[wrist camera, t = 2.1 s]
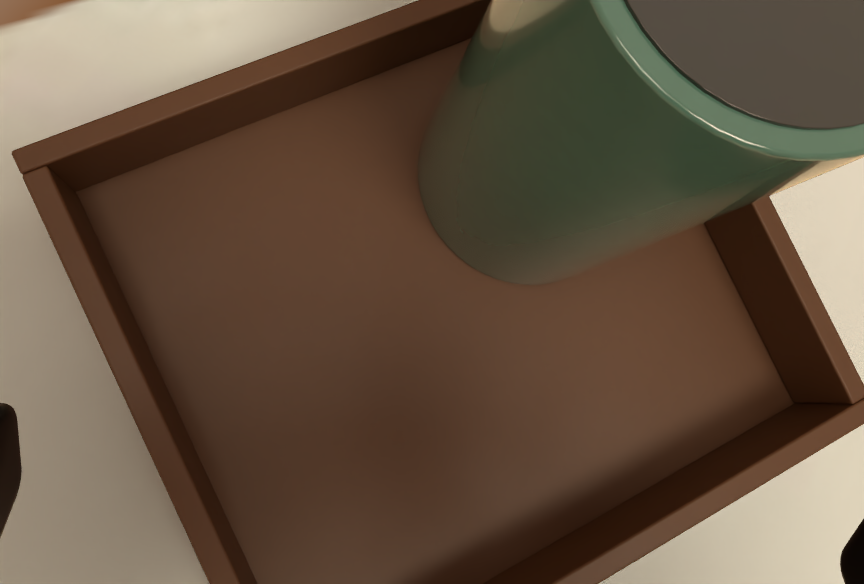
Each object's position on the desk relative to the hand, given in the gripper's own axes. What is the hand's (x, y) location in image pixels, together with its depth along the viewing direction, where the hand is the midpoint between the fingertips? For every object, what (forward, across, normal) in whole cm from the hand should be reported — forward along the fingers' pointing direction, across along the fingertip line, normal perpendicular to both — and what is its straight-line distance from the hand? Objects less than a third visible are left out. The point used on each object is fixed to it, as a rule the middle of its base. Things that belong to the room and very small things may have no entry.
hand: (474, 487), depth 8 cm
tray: (+13, -2, +6) cm, 14 cm away
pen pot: (+15, -4, +2) cm, 15 cm away
